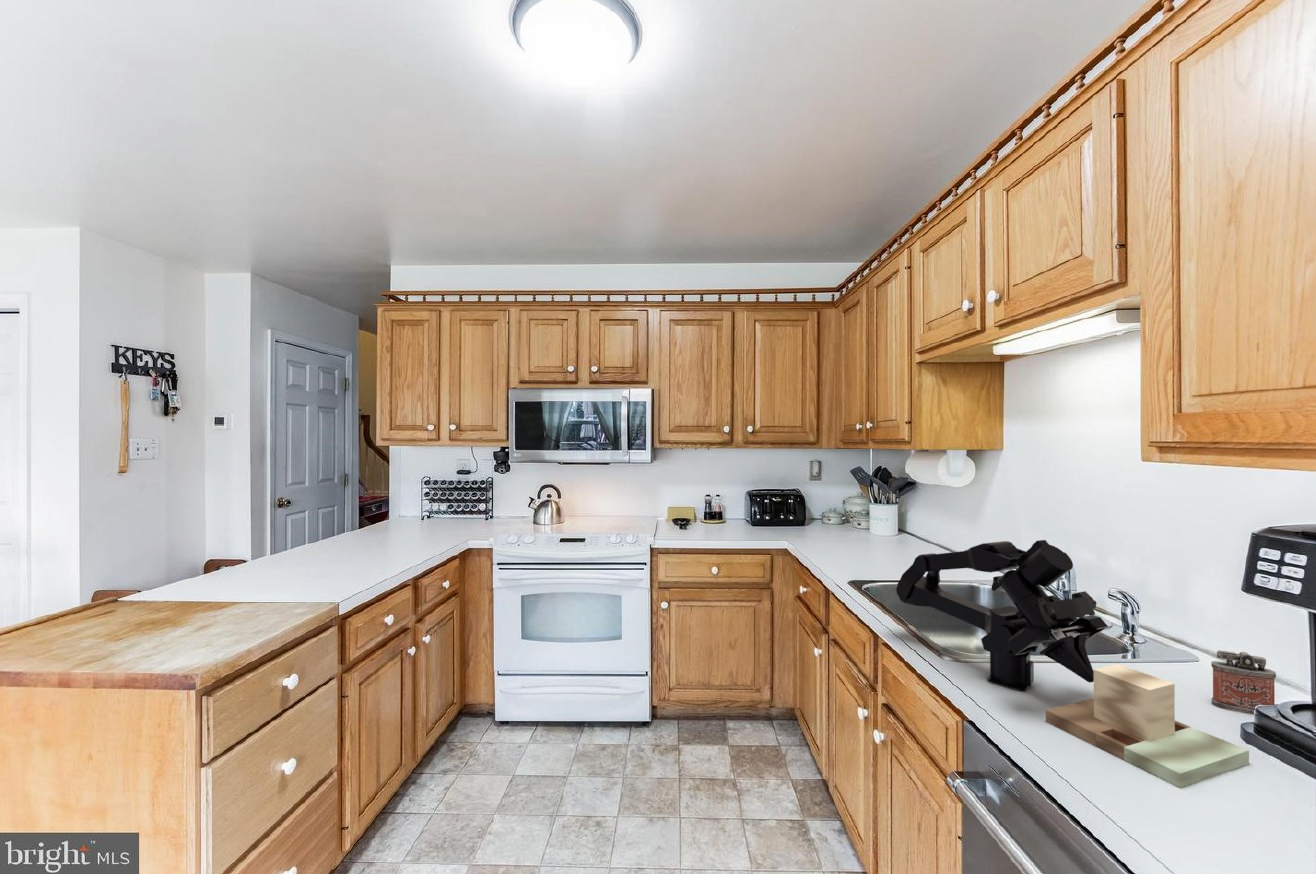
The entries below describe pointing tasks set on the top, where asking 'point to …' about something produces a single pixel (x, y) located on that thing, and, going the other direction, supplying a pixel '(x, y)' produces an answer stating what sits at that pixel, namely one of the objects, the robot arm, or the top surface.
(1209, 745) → the board
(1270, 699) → the lighter
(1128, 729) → the maple block
